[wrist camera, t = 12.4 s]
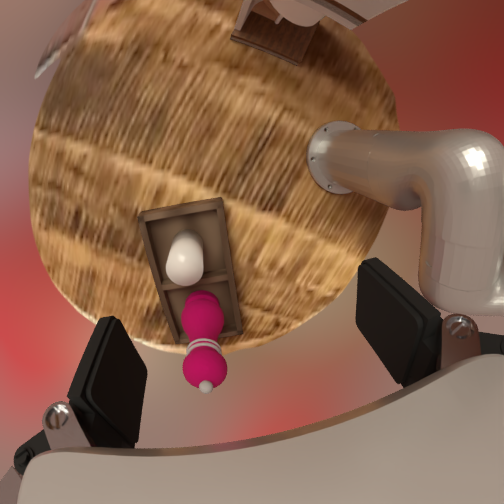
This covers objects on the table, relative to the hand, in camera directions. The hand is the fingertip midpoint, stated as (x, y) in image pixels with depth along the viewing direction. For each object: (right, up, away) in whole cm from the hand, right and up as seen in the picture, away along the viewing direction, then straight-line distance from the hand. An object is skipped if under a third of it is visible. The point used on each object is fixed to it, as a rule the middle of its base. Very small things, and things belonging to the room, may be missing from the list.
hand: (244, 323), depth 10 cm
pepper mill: (-9, -7, +38) cm, 40 cm away
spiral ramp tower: (+4, +38, +22) cm, 44 cm away
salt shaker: (-10, +4, +33) cm, 35 cm away
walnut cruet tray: (-10, -1, +36) cm, 38 cm away
